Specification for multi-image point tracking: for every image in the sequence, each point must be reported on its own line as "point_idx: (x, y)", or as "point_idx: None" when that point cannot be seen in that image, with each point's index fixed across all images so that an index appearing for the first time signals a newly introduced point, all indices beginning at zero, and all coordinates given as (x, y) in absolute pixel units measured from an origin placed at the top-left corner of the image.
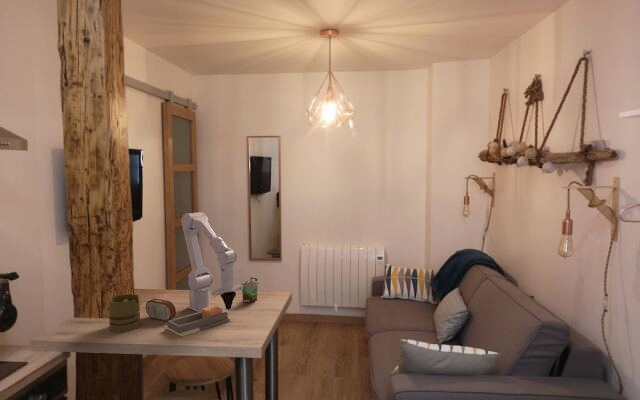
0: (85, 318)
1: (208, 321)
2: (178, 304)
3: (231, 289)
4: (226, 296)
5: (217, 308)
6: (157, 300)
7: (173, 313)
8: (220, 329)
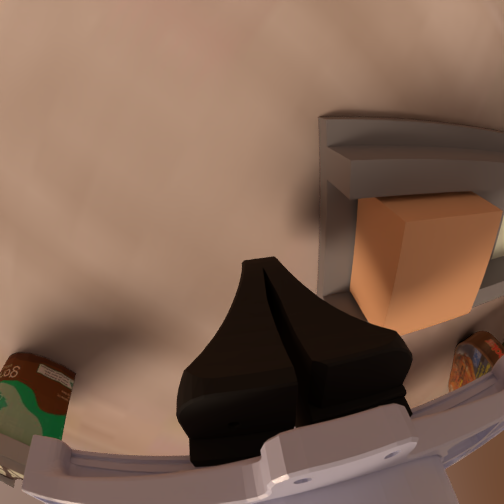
0: None
1: (488, 155)
2: None
3: (355, 477)
4: (404, 343)
5: (426, 254)
6: None
7: (491, 345)
8: (441, 43)
